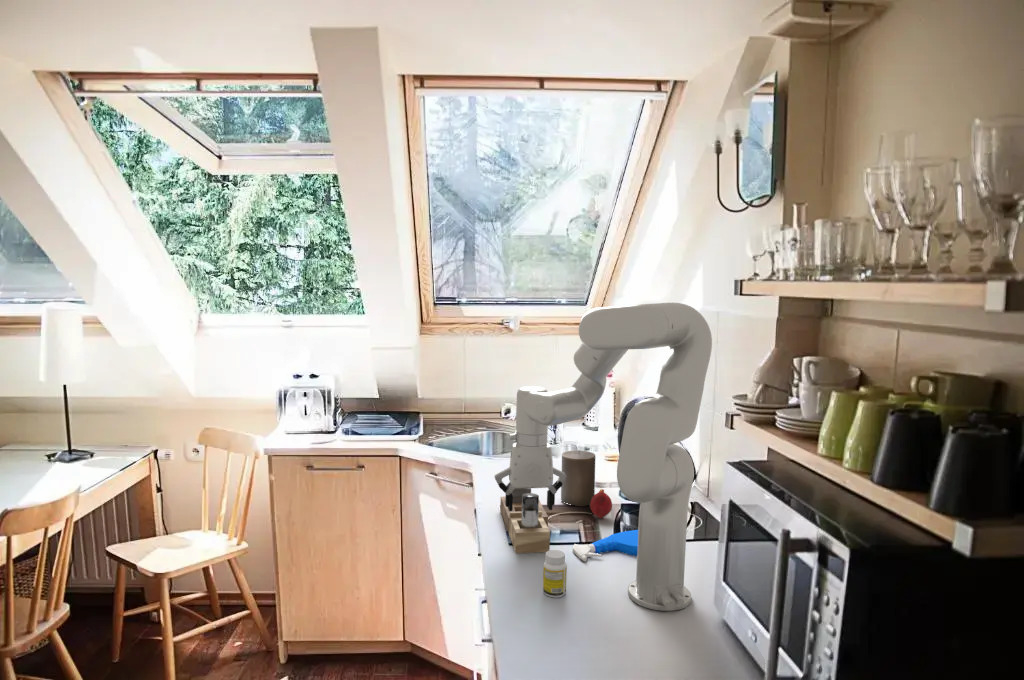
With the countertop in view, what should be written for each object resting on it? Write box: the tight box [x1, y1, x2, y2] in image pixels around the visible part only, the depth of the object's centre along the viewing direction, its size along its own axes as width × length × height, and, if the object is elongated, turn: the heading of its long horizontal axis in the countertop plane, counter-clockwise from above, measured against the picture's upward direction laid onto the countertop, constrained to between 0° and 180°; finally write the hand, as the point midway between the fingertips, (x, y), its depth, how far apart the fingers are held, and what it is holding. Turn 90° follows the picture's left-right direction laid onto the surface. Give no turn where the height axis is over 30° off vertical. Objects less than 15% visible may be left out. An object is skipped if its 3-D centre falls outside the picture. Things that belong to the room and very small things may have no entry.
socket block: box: [499, 488, 549, 534], centre depth 181 cm, size 16×10×8 cm, turn 8°
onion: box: [589, 488, 613, 519], centre depth 184 cm, size 6×6×8 cm
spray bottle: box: [572, 529, 638, 562], centre depth 164 cm, size 3×11×24 cm
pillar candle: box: [560, 449, 596, 507], centre depth 197 cm, size 10×10×15 cm
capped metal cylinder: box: [521, 492, 540, 529], centre depth 166 cm, size 4×4×12 cm
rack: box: [508, 511, 551, 554], centre depth 167 cm, size 11×8×6 cm
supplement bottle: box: [542, 549, 568, 599], centre depth 142 cm, size 5×5×8 cm
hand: (529, 508), depth 165 cm, fingers open, 9 cm apart
